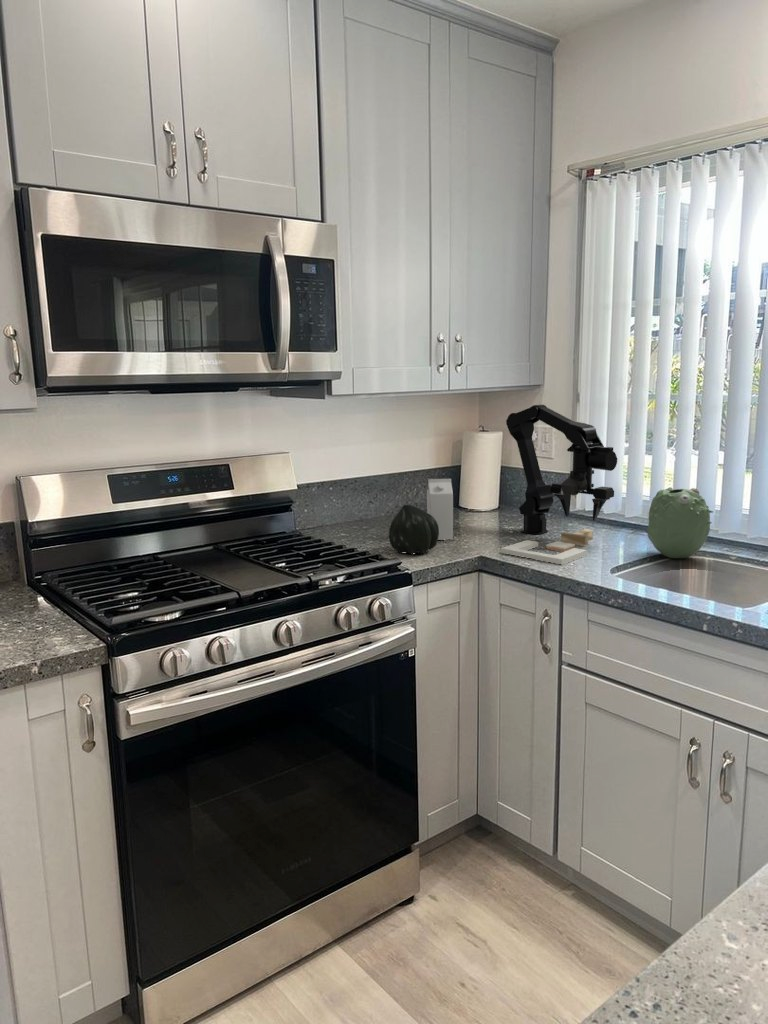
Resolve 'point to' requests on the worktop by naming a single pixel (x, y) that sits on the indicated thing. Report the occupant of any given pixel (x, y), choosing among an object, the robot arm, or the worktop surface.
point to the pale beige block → (560, 546)
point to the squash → (413, 530)
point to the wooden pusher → (577, 537)
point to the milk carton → (441, 505)
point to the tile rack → (558, 558)
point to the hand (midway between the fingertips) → (580, 518)
